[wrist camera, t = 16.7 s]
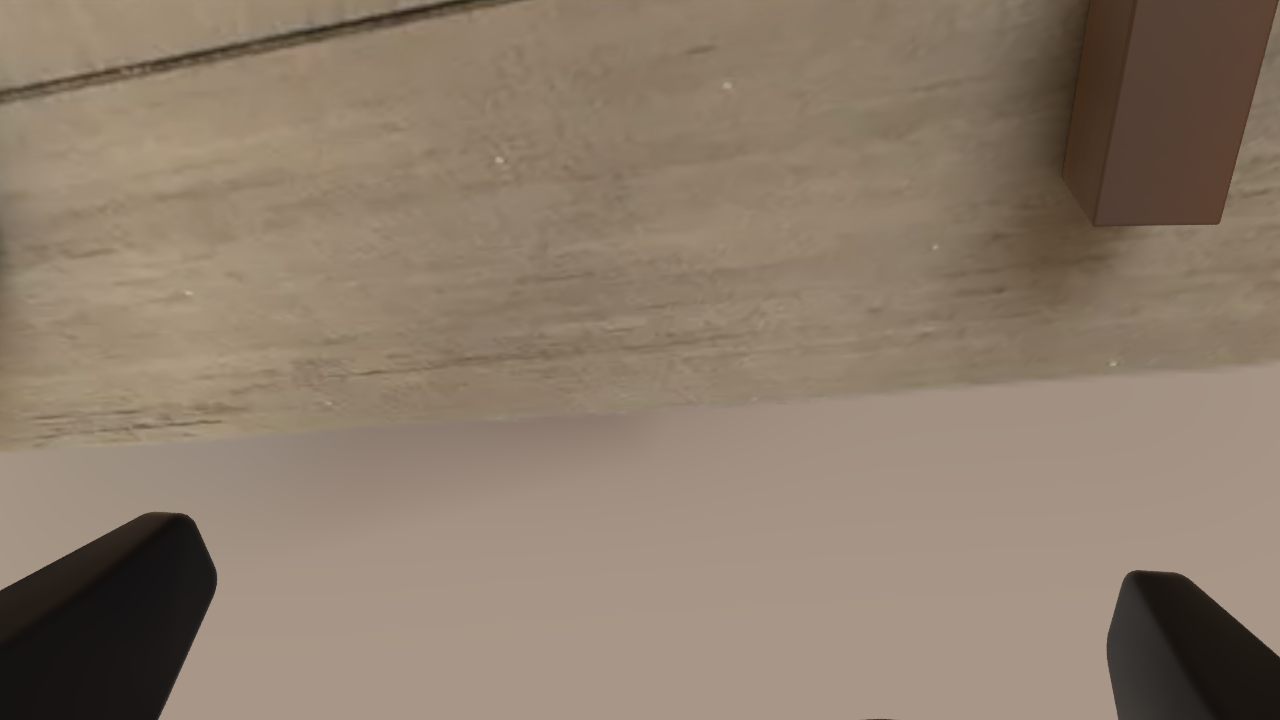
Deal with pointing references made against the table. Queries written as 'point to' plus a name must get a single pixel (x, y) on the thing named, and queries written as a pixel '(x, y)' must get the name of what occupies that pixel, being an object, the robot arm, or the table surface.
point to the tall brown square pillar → (1163, 107)
